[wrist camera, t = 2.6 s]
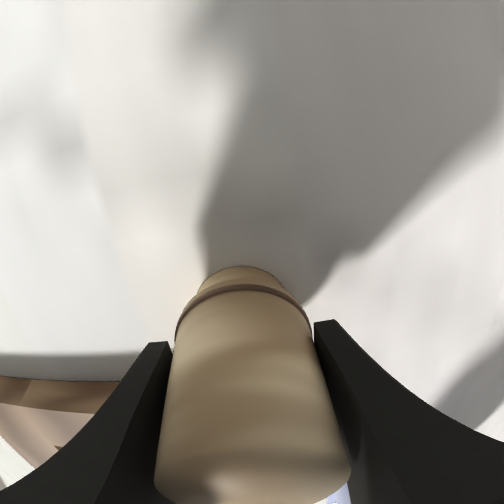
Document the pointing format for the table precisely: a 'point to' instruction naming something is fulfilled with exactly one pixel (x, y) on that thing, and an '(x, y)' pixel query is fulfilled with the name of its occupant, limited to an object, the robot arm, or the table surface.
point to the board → (46, 413)
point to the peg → (247, 401)
